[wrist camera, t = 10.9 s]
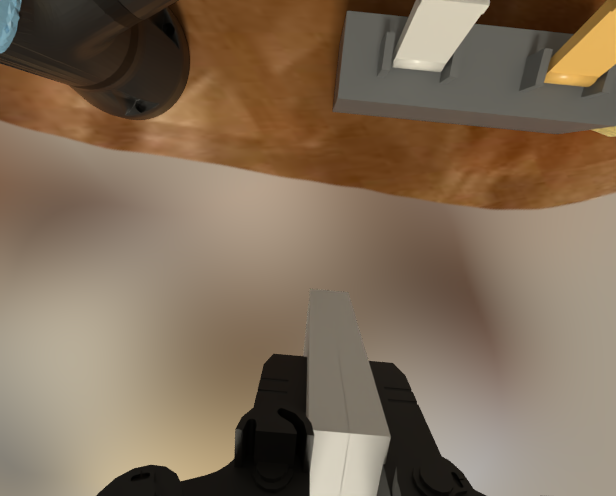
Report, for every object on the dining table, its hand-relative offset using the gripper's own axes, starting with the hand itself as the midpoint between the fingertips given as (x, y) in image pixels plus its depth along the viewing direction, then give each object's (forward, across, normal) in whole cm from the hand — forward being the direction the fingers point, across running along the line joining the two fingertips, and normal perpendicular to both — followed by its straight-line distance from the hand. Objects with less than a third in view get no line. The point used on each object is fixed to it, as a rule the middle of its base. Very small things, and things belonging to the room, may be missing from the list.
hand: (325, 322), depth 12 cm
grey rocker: (+23, +8, +17) cm, 30 cm away
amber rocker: (+23, +24, +17) cm, 37 cm away
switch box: (+32, +16, +17) cm, 40 cm away
